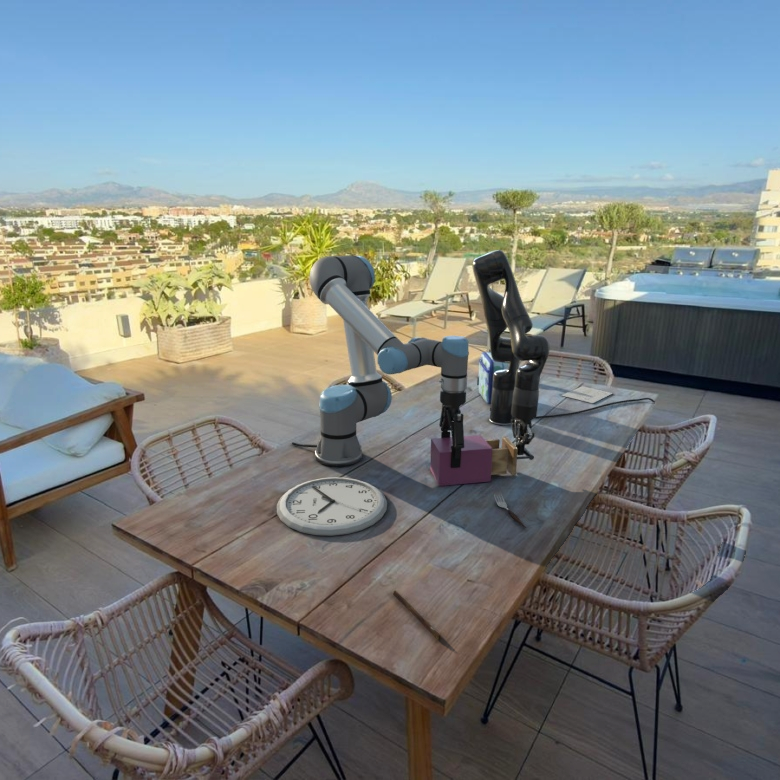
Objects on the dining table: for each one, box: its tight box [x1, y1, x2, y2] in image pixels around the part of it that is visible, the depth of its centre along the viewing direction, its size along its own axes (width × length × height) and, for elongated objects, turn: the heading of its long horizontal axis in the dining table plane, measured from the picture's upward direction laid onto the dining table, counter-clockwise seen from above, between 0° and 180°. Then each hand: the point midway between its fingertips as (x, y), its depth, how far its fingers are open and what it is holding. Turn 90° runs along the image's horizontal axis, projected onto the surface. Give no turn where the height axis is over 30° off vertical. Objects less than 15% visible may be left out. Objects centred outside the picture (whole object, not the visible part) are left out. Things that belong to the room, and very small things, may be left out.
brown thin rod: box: [392, 590, 441, 641], centre depth 102 cm, size 15×1×1 cm, turn 34°
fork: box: [493, 492, 526, 529], centre depth 140 cm, size 3×16×2 cm, turn 15°
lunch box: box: [476, 351, 509, 406], centre depth 230 cm, size 26×11×21 cm, turn 179°
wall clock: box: [276, 476, 388, 537], centre depth 142 cm, size 30×2×30 cm
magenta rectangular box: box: [429, 434, 492, 487], centre depth 159 cm, size 16×11×11 cm, turn 100°
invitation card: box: [560, 385, 613, 404], centre depth 242 cm, size 21×1×15 cm
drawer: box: [485, 436, 535, 476], centre depth 161 cm, size 20×9×9 cm, turn 100°
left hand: (450, 459), depth 158 cm, fingers closed on magenta rectangular box, 11 cm apart
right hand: (519, 454), depth 162 cm, fingers closed
